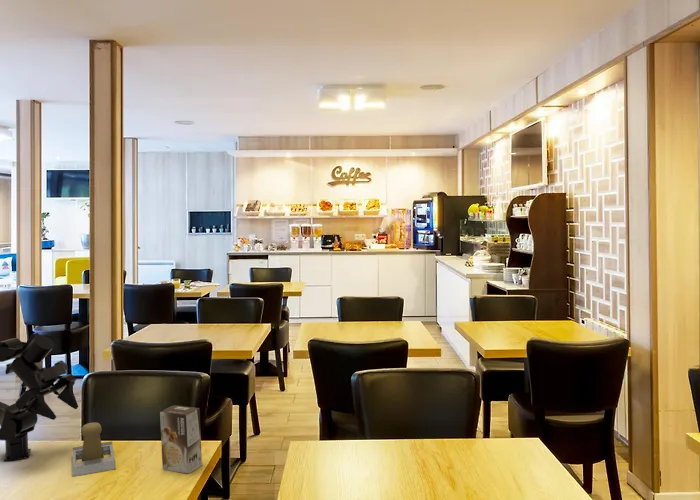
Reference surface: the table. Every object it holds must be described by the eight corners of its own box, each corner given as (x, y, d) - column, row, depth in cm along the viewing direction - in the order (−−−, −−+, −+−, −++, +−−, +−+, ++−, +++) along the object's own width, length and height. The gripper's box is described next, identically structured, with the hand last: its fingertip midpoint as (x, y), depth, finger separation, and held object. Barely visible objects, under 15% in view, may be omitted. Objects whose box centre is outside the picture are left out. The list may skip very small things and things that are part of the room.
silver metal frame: (73, 455, 174) (72, 447, 174) (112, 449, 178) (112, 441, 178) (72, 476, 160) (72, 467, 159) (115, 468, 164) (115, 460, 164)
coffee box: (203, 465, 165) (201, 407, 165) (188, 474, 160) (186, 415, 159) (176, 460, 169) (174, 404, 168) (160, 469, 163) (158, 411, 162)
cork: (104, 464, 167) (102, 425, 166) (80, 468, 165) (78, 428, 164) (104, 456, 173) (103, 419, 172) (82, 459, 171) (80, 421, 170)
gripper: (22, 362, 161) (60, 404, 159) (68, 347, 179) (103, 384, 177) (-2, 390, 163) (36, 432, 161) (47, 372, 181) (81, 410, 180)
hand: (66, 413), depth 170 cm, fingers open, 9 cm apart
